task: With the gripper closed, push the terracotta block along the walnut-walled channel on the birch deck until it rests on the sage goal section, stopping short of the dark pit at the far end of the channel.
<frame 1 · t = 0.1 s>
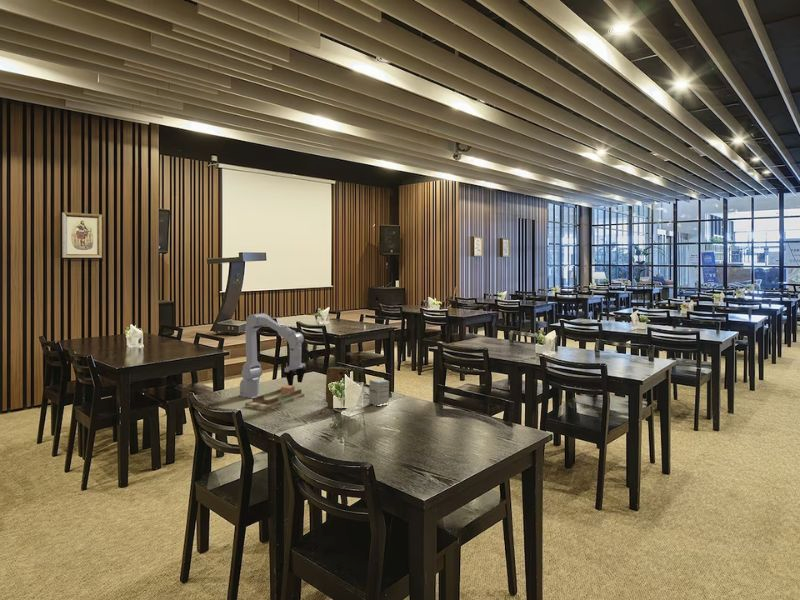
hand: (295, 383, 256), 10 cm above the table, tool pointing down, fingers open, 7 cm apart
block: (337, 407, 251), on the table
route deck: (275, 402, 258), on the table
supplement box: (378, 405, 258), on the table
block terracotta: (287, 394, 267), point 2 cm above the table, touching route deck
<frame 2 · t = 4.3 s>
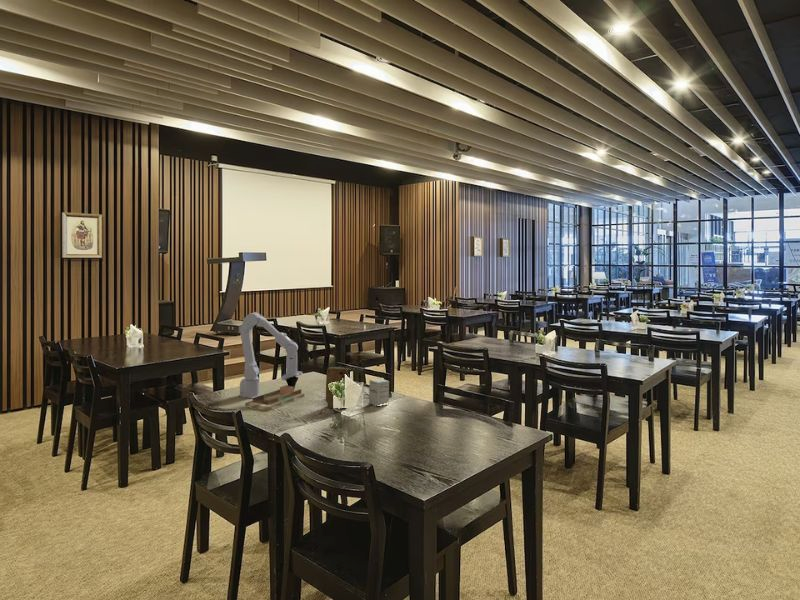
hand: (291, 390, 269), 3 cm above the table, tool pointing down, fingers closed
block terracotta: (286, 394, 266), point 2 cm above the table, touching gripper, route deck
everything else where it was.
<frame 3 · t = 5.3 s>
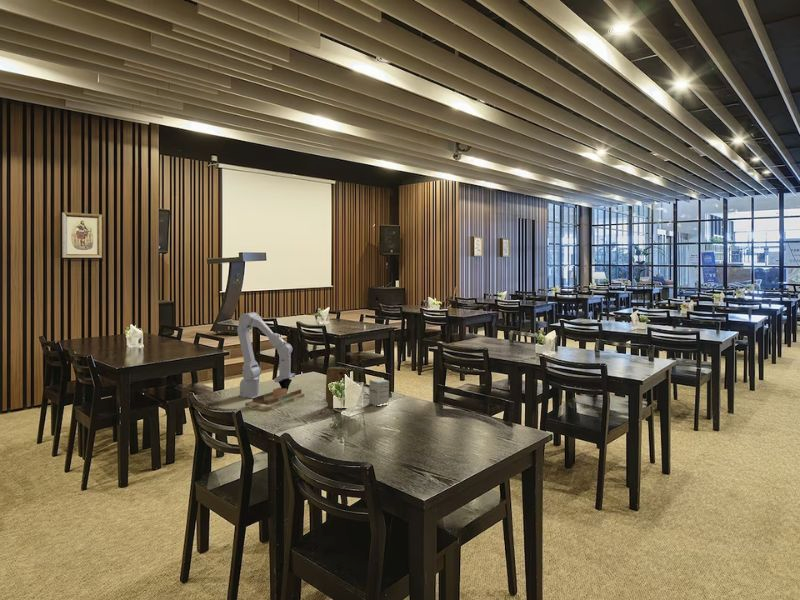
hand: (284, 393, 264), 3 cm above the table, tool pointing down, fingers closed
block terracotta: (280, 396, 261), point 2 cm above the table, touching gripper, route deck
everything else where it was.
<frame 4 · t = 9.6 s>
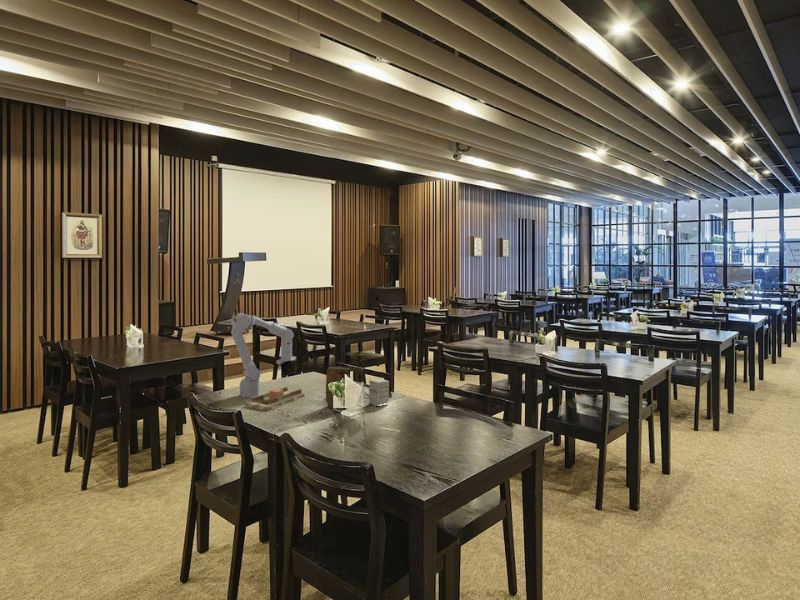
hand: (286, 375, 278), 9 cm above the table, tool pointing down, fingers closed
block terracotta: (276, 398, 258), point 2 cm above the table, touching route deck
everything else where it was.
at the end: block terracotta 0.8 cm from the target spot, point 2.0 cm above the table; block terracotta tilted 0° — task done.
